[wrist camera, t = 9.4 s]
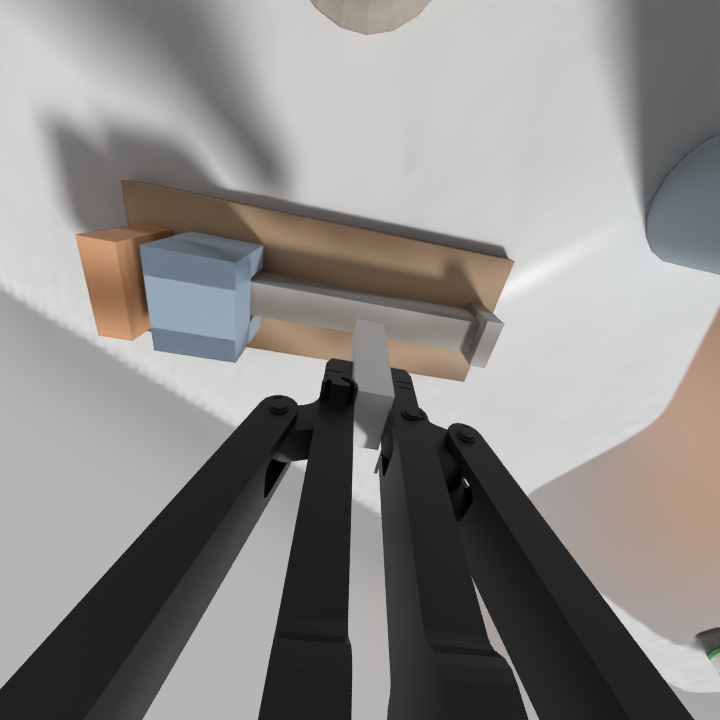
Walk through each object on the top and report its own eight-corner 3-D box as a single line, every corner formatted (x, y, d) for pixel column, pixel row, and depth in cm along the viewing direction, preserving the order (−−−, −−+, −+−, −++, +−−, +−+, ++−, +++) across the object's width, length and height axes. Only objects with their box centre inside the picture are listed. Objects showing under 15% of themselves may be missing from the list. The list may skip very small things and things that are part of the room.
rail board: (130, 180, 22) (41, 177, 15) (508, 258, 24) (560, 282, 18) (150, 325, 27) (90, 366, 21) (460, 376, 30) (488, 425, 23)
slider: (191, 231, 22) (139, 245, 17) (263, 245, 22) (235, 262, 17) (196, 316, 25) (154, 350, 20) (260, 326, 25) (235, 362, 20)
